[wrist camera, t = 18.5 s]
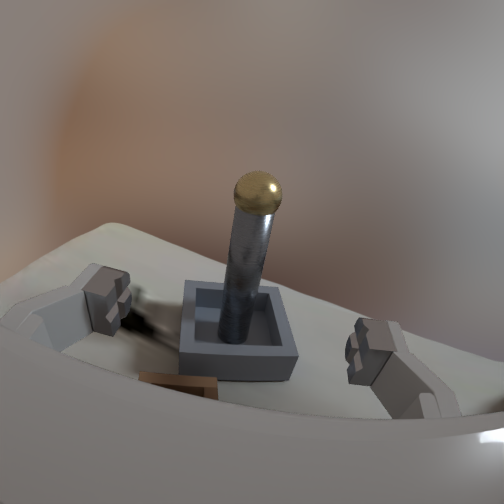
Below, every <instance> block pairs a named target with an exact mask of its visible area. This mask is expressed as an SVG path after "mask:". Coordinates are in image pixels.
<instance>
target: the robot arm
mask: <svg viewBox="0 0 504 504" xmlns="http://www.w3.org/2000/svg"><path fill="white" fill-rule="evenodd" d="M129 284H130V274H129V273H128V272H125V271H121V270H118V269H114V268H110V267H106V266H102V265H99V264H95V263H92V264H89V266H88V267H87V268H86V269H85V270H84V271H83V272H82V273H81V274H80V275H79V276H78V277H77V278H76V279H75V280H74V281H73V282H72V283H71V285H70V286H66V285H65V286H63V287H60V288H57V289H55V290H52V291H49V292H46V293H44V294H41V295H38V296H36V297H33V298H30V299H28V300H25V301H22V302H20V303H17V304H15V305H14V306H13V307H12V308H11V309H10V310H9V311H8V312H7V313H6V314H5V315H4V316H3V317H2V319H1V320H0V504H504V411H502V412H495V413H487V414H479V415H470V416H462V415H461V412H460V408H459V405H458V403H457V400H456V397H455V394H454V392H453V391H452V390H451V389H450V388H449V387H448V386H447V385H446V384H445V383H444V382H443V381H442V380H441V379H440V378H439V377H437V376H436V375H435V374H434V373H433V372H432V371H431V370H430V369H429V368H428V367H427V366H426V365H425V364H424V363H423V362H422V361H420V360H419V359H418V358H417V357H416V356H415V355H414V354H412V353H409V350H408V347H407V344H406V341H405V338H404V336H403V333H402V330H401V327H400V325H399V323H398V322H393V321H381V320H374V319H367V318H360V317H359V318H358V320H357V321H356V323H355V325H354V327H355V332H354V333H352V334H351V335H350V336H349V338H348V340H347V344H346V348H345V358H346V361H347V362H348V363H349V364H350V365H349V367H348V369H347V373H348V381H349V384H353V385H362V386H371V387H370V388H371V389H372V391H373V392H374V393H375V395H376V396H377V398H378V399H379V400H380V402H381V403H382V405H383V406H384V407H385V409H386V410H387V412H388V413H389V414H390V416H391V417H392V419H362V418H343V417H329V416H317V415H307V414H298V413H290V412H282V411H275V410H268V409H262V408H256V407H250V406H244V405H238V404H233V403H228V402H223V401H218V400H213V399H209V398H204V397H200V396H195V395H191V394H187V393H183V392H179V391H175V390H171V389H167V388H164V387H160V386H156V385H153V384H149V383H146V382H143V381H139V380H136V379H133V378H130V377H126V376H123V375H120V374H117V373H114V372H111V371H108V370H106V369H103V368H100V367H97V366H94V365H92V364H89V363H86V362H84V361H81V360H78V359H76V358H73V357H71V356H68V355H66V354H63V353H61V351H63V350H64V349H66V348H68V347H69V346H71V345H73V344H74V343H76V342H77V341H79V340H81V339H82V338H84V337H86V336H87V335H89V334H91V333H92V332H93V331H94V332H98V333H101V334H104V335H108V336H111V337H113V336H114V335H115V333H116V331H117V330H118V328H119V327H120V325H121V324H120V319H122V318H124V317H126V315H127V314H128V312H129V309H130V306H131V300H132V295H131V291H130V290H129V288H128V287H127V286H128V285H129Z"/></svg>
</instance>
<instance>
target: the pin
mask: <svg viewBox="0 0 504 504" xmlns="http://www.w3.org/2000/svg"><path fill="white" fill-rule="evenodd" d="M234 201H235V204H236V207H235V214H234V220H233V226H232V233H231V240H230V246H229V253H228V260H227V267H226V274H225V281H224V288H223V295H222V302H221V309H220V317H219V324H218V332H217V334H218V337H219V338H220V340H221V341H223V342H224V343H227V344H230V345H239V344H242V343H244V342H245V341H246V340H247V338H248V333H249V329H250V325H251V320H252V316H253V311H254V307H255V302H256V298H257V293H258V289H259V284H260V280H261V275H262V270H263V266H264V261H265V256H266V252H267V248H268V243H269V238H270V234H271V229H272V224H273V220H274V215H275V212H276V211H277V209H278V208H279V206H280V204H281V201H282V189H281V186H280V184H279V182H278V181H277V179H276V178H275V177H273V176H272V175H271V174H269V173H267V172H263V171H253V172H250V173H247V174H245V175H244V176H242V177H241V178H240V179H239V181H238V182H237V184H236V186H235V189H234Z"/></svg>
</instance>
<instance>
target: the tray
mask: <svg viewBox="0 0 504 504" xmlns="http://www.w3.org/2000/svg"><path fill="white" fill-rule="evenodd" d="M223 288H224V283H215V282H203V281H191V280H185V286H184V296H183V308H182V320H181V333H180V348H179V375H185V376H200V377H217V380H242V381H281V380H289V378H290V376H291V374H292V371H293V369H294V367H295V364H296V362H297V360H298V357H299V355H298V351H297V348H296V345H295V341H294V338H293V335H292V331H291V328H290V325H289V322H288V318H287V315H286V312H285V308H284V305H283V302H282V299H281V295H280V292H279V289H278V287H268V286H259V289H258V293H257V298H256V302H255V307H254V311H253V316H252V320H251V325H250V329H249V333H248V338H247V340H246V341H245V342H244V343H242V344H239V345H230V344H227V343H224V342H223V341H221V340H220V338H219V337H218V334H217V332H218V324H219V317H220V309H221V302H222V295H223Z"/></svg>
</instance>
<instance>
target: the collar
mask: <svg viewBox="0 0 504 504" xmlns="http://www.w3.org/2000/svg"><path fill="white" fill-rule="evenodd" d="M138 380H139V381H143V382H146V383H149V384H153V385H156V386H160V387H164V388H167V389H171V390H175V391H179V392H183V393H187V394H191V395H195V396H200V397H204V398H209V399H213V400H218V388H217V377H200V376H185V375H172V374H161V373H151V372H142V371H140V373H139V379H138Z"/></svg>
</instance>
